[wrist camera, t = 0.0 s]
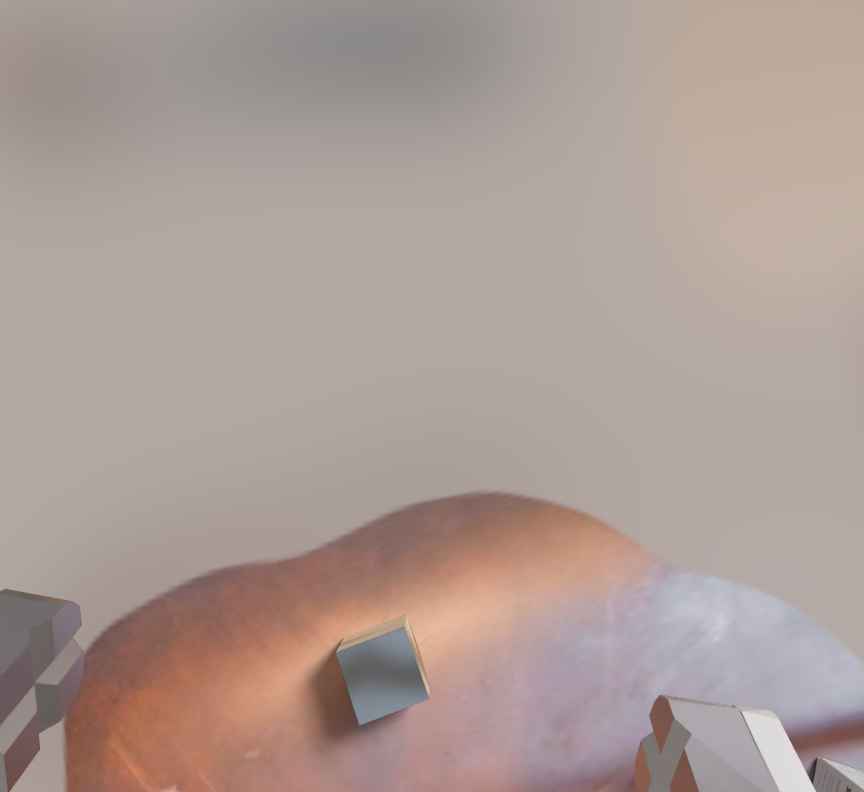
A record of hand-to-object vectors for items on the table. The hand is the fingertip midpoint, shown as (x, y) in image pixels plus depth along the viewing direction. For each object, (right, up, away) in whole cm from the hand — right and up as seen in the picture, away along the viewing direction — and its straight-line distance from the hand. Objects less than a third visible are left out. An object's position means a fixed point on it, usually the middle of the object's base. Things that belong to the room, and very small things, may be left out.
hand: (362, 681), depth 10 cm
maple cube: (-3, -20, +52) cm, 56 cm away
